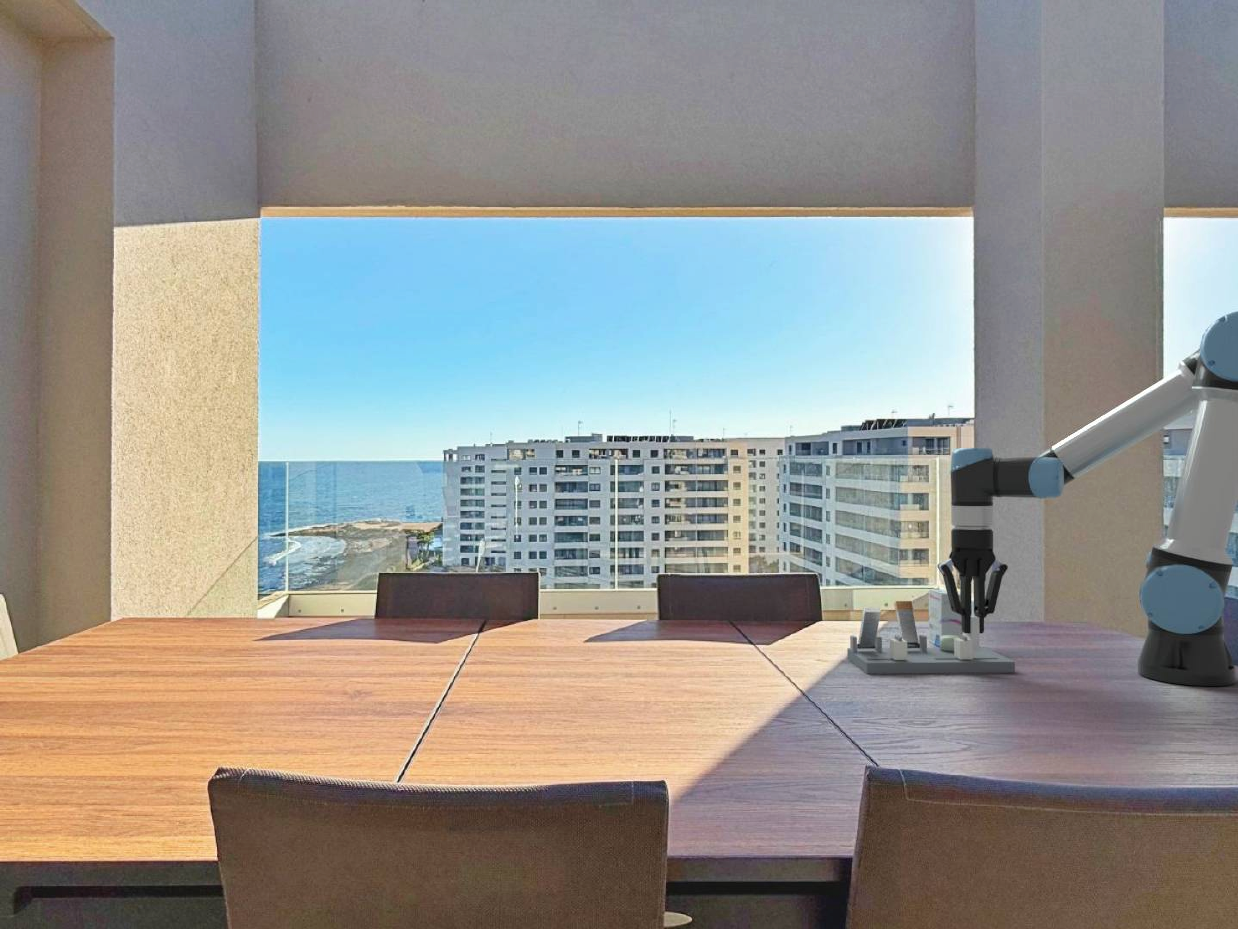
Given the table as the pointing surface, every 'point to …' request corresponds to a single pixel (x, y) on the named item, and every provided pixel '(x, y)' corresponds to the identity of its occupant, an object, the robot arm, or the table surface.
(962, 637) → the slider
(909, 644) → the toggle
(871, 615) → the toggle
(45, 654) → the table surface
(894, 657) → the slider
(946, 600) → the ink box
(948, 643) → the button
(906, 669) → the panel
